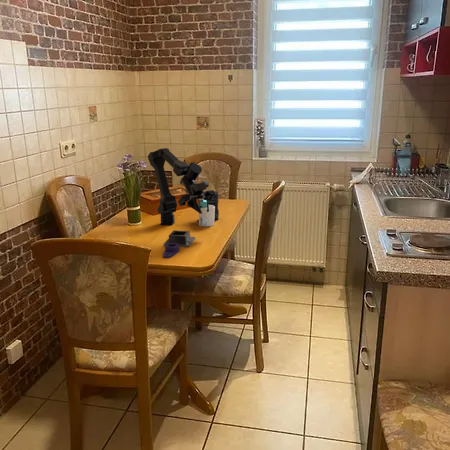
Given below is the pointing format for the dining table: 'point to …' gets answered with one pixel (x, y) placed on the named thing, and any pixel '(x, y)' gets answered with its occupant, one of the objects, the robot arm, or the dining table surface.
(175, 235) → the docking mount
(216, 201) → the storage jar
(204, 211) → the teal and silver cylinder
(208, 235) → the dining table surface
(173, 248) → the lever
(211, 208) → the white cup
